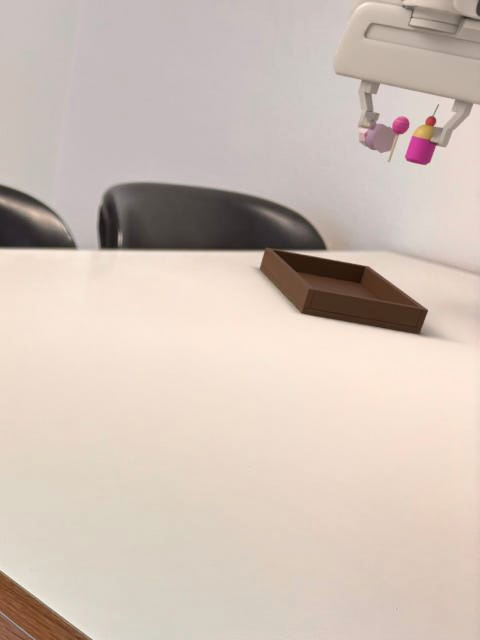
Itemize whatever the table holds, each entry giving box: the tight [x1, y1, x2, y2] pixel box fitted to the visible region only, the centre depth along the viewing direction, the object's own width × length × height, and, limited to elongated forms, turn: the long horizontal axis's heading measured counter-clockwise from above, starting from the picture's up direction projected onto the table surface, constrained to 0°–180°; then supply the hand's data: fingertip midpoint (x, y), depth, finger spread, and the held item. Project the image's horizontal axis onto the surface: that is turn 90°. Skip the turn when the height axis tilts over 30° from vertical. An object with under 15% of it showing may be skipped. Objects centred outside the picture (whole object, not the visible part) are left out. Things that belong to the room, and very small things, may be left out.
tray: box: [259, 247, 429, 334], centre depth 124 cm, size 13×21×3 cm, turn 0°
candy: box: [358, 104, 440, 166], centre depth 120 cm, size 18×8×6 cm, turn 0°
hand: (401, 137), depth 120 cm, fingers closed on candy, 7 cm apart
